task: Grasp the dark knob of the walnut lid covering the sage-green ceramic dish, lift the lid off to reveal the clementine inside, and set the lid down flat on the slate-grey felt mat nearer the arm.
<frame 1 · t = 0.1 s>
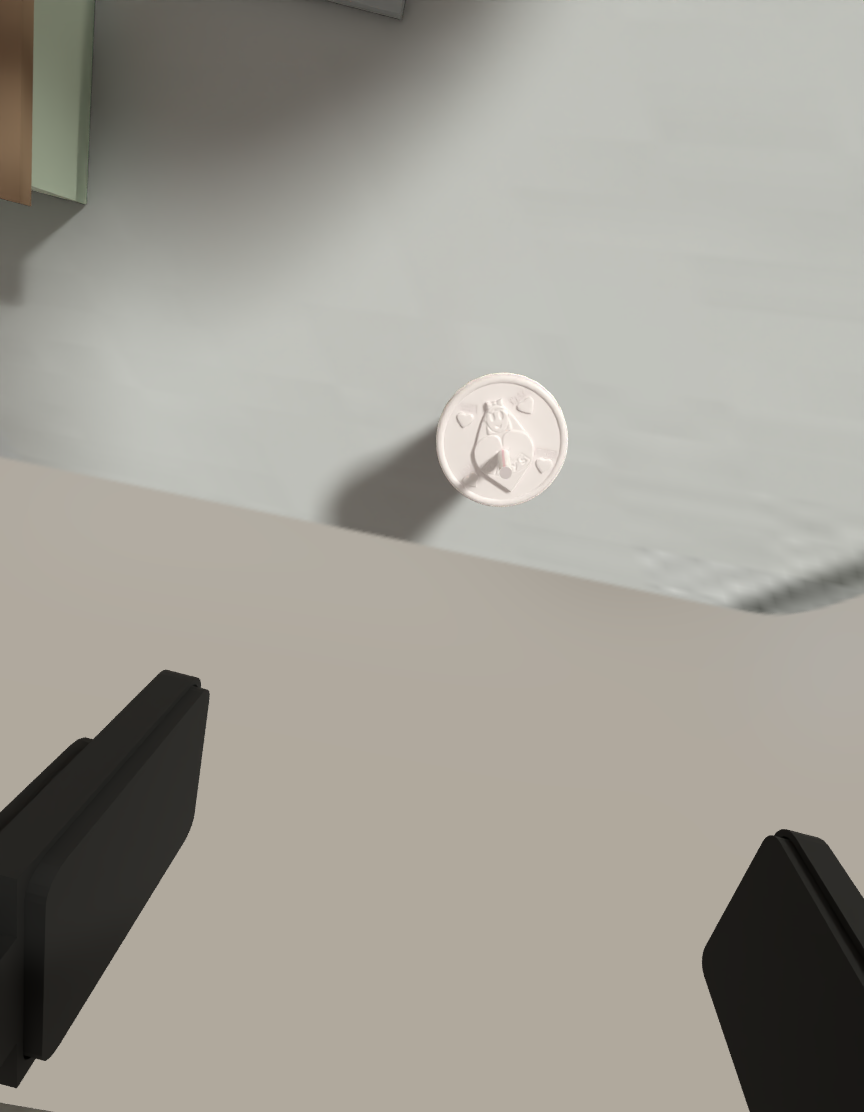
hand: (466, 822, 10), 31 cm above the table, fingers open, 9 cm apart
smoothie: (498, 418, 39), on the table
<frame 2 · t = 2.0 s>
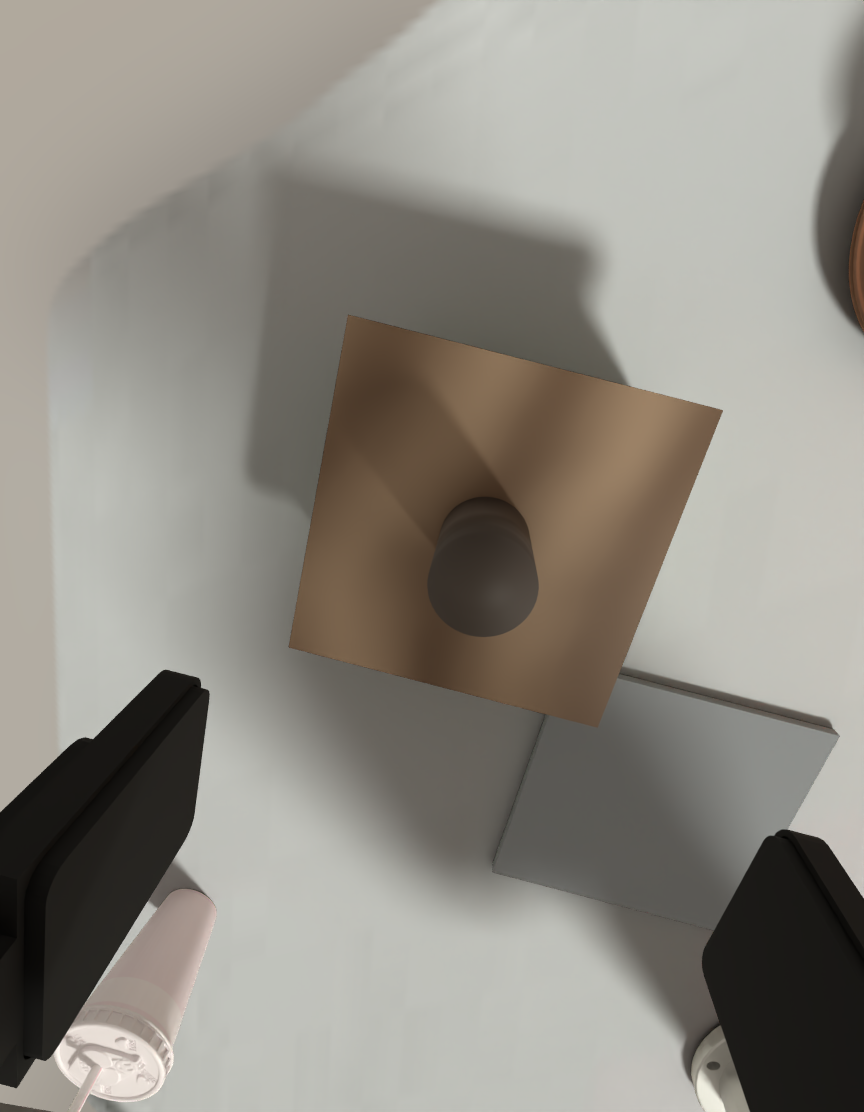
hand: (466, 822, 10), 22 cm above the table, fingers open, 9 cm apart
lid: (484, 534, 25), point 6 cm above the table, touching dish
mat: (650, 801, 36), on the table
smoothie: (192, 906, 42), on the table
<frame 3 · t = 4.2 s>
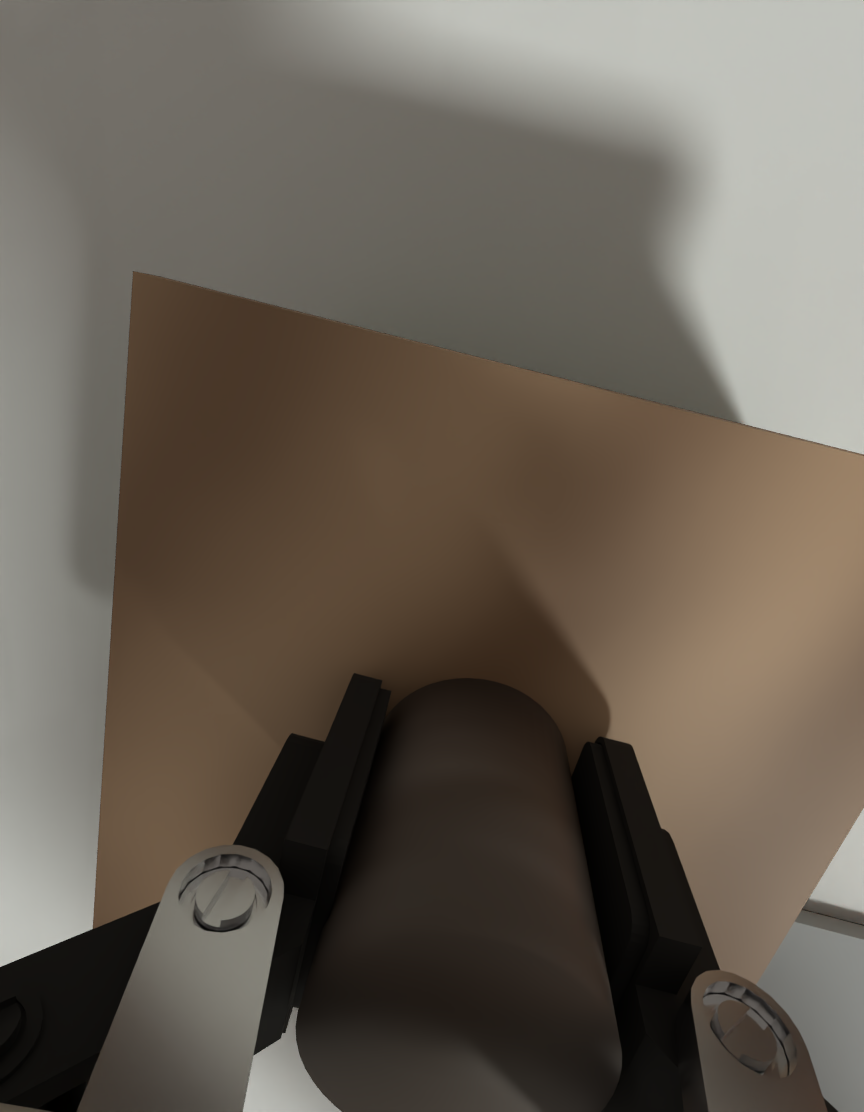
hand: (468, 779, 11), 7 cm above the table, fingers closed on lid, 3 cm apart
lid: (471, 736, 12), point 6 cm above the table, touching dish, gripper
mat: (738, 1060, 23), on the table
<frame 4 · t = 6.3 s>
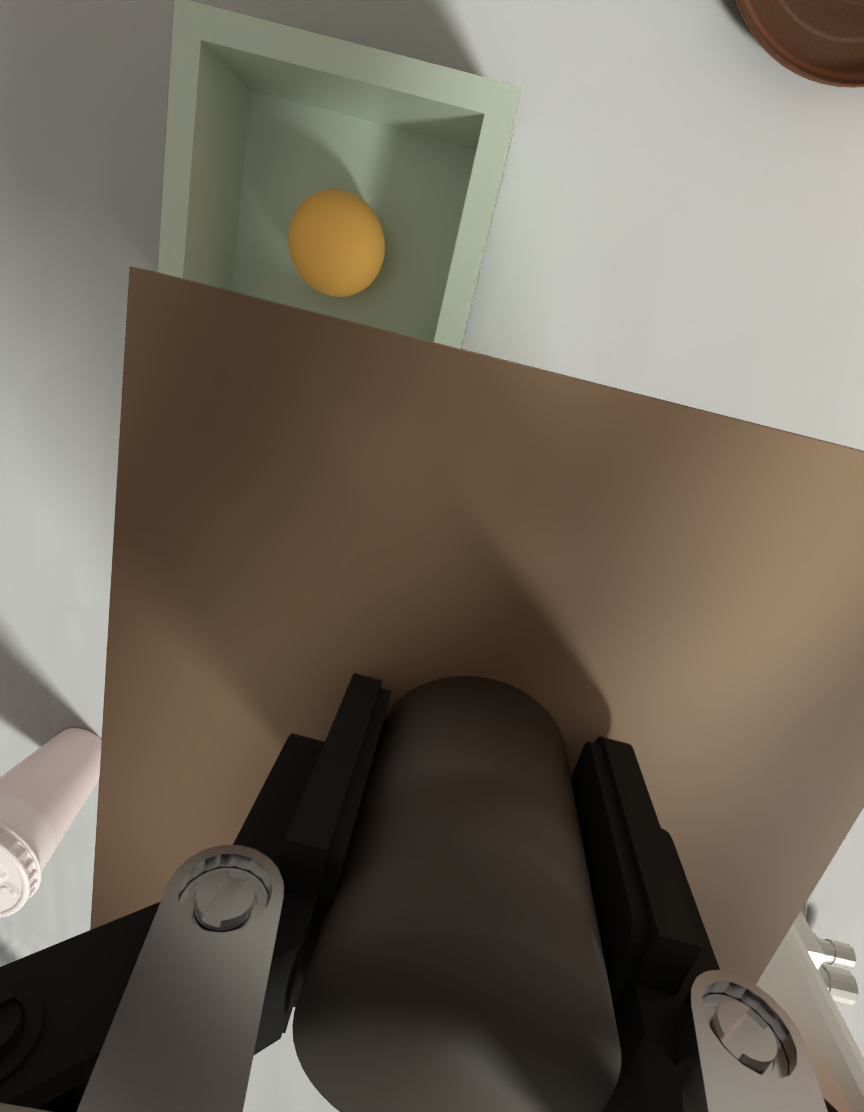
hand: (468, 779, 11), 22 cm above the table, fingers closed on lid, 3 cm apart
dish: (351, 252, 28), on the table
lid: (470, 735, 12), point 21 cm above the table, touching gripper
clementine: (337, 245, 26), point 3 cm above the table, touching dish
smoothie: (84, 749, 41), on the table
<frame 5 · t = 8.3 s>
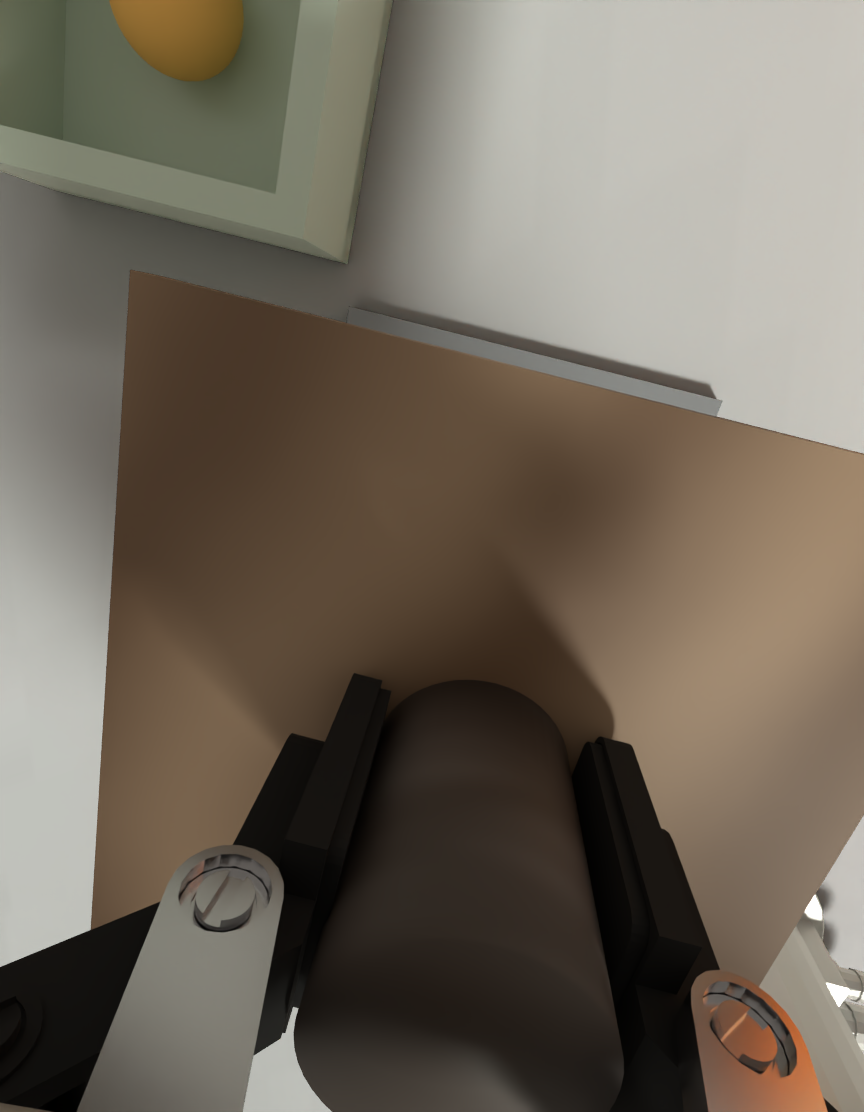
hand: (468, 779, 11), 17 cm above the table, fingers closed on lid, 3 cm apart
dish: (217, 45, 22), on the table
lid: (471, 738, 12), point 16 cm above the table, touching gripper
clementine: (177, 1, 19), point 3 cm above the table, touching dish
mat: (485, 527, 27), on the table
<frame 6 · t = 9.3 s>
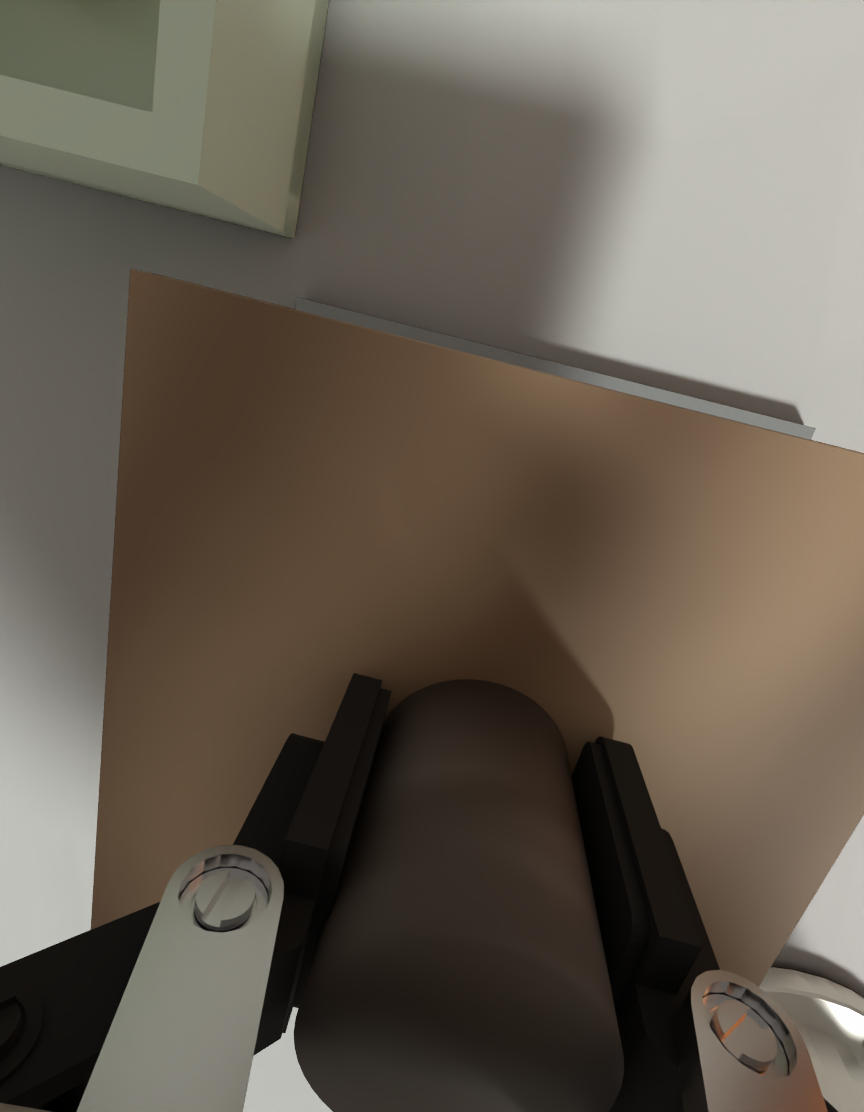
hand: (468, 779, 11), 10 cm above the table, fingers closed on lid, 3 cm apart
lid: (471, 738, 12), point 9 cm above the table, touching gripper
mat: (485, 593, 20), on the table
when the fingers open (4 cm above the table, at t = 10.8 s): lid drops 2 cm, resting on mat.
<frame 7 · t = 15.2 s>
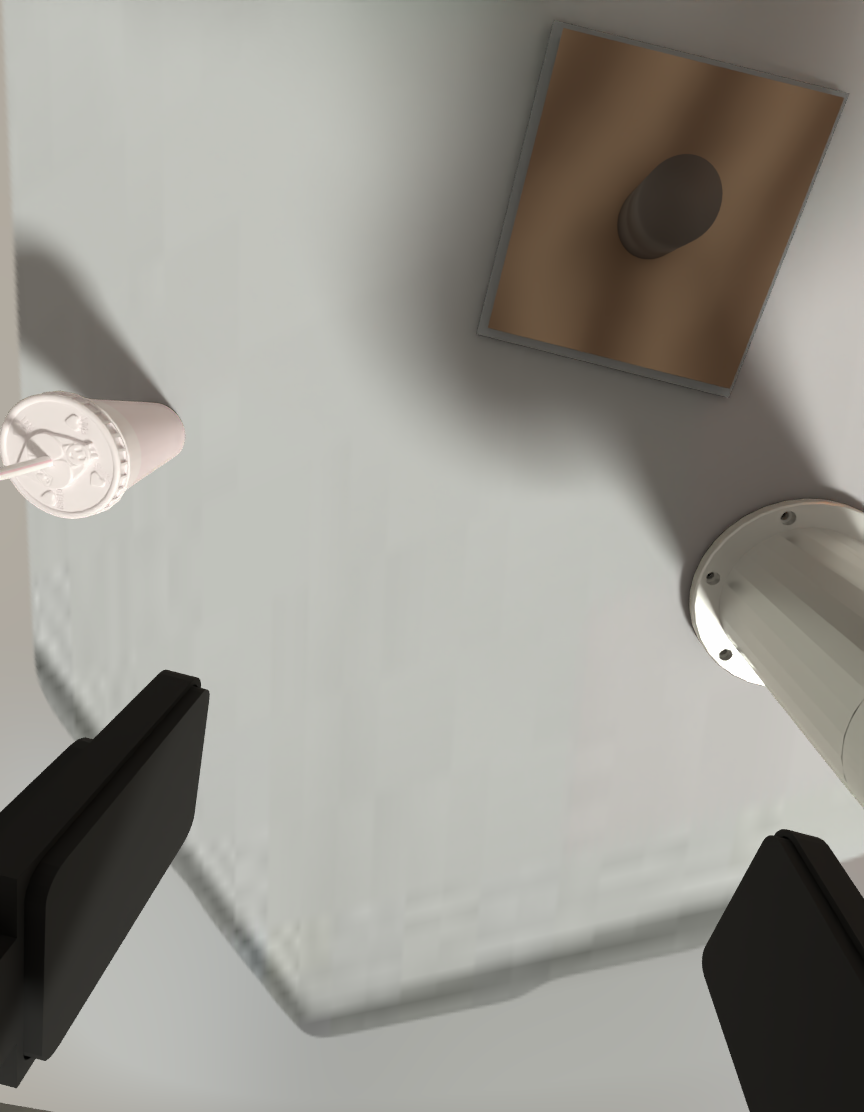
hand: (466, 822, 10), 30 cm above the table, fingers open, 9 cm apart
lid: (648, 224, 33), point 1 cm above the table, touching mat
mat: (645, 225, 33), on the table
smoothie: (159, 431, 40), on the table
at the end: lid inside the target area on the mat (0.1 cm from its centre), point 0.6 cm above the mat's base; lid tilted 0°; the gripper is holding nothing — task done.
